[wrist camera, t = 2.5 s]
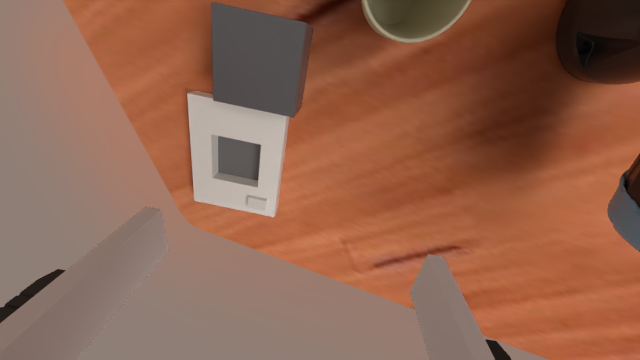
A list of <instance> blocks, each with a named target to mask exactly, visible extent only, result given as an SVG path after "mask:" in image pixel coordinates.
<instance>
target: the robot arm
mask: <svg viewBox="0 0 640 360" xmlns="http://www.w3.org/2000/svg"><path fill="white" fill-rule="evenodd" d="M557 49H558V54H559V57H560V60H561V62H562V64H563V66H564V67H565V68H566V70H567V71H568V72H569V73H570V74H572V75H573V76H575V77H576V78H578V79H581V80H584V81H587V82H593V83H601V84H628V83H634V82H640V0H568V1H567V3H566V6H565V8H564V10H563V13H562V16H561V19H560V22H559V26H558V32H557ZM608 217H609V219H610V221H611V222H612V223H613V226H614V228H615V230H616V231H617V232H618V233H619V234H620V235H621V236H622V238H623V239H625V240H626V241H627V242H628V243H629V244H630V245H631V246H633V247H634V248H635V249H636V250H638V251H639V252H640V154H639V155H638V157H637V158H636V160H635V161H634V163H633V164H632V165H631V167H630V168H629V170H627V171H625V172H624V173H623V175H622V176H621V178H620V181H619V186H618V188H617V190H616V192H615V194H614V195H613V197H612V199H611V200H610V202H609V205H608ZM168 251H169V249H168V243H167V238H166V232H165V227H164V221H163V217H162V211H161V209H156V208H151V207H144V208H143V209H142V210H141V211H140V212H138V213H137V214H136V215H134V216H133V217H132V218H131V219H129V220H128V221H127V222H126V223H125V224H123V225H122V226H121V227H119V228H118V229H117V230H116V231H114V232H113V233H112V234H111V235H109V236H108V237H107V238H106V239H105V240H103V241H102V242H101V243H100V244H98V245H97V246H96V247H95V248H93V249H92V250H91V251H90V252H88V253H87V254H86V255H85V256H83V257H82V258H81V259H80V260H78V261H77V262H76V263H75V264H73V265H72V266H71V267H70V268H68V269H67V270H60V269H57V270H55V271H54V272H52V273H50V274H48V275H46V276H44V277H42V278H40V279H38V280H36V281H35V282H34V283H33V284H31V285H30V286H29V287H27V288H26V289H25V290H23V291H22V292H21V293H20V295H19V296H16V297H14V298H13V299H12V300H10V301H9V302H8V303H6V304H5V306H4V307H1V308H0V360H77V358H78V357H79V356H80V355H81V354H82V353H83V352H84V350H85V349H86V348H87V347H88V345H89V344H90V343H91V342H92V341H93V340H94V339H95V337H96V336H97V335H98V334H99V333H100V331H101V330H102V329H103V328H104V327H105V326H106V325H107V323H108V322H109V321H110V320H111V319H112V317H113V316H114V315H115V314H116V313H117V312H118V310H119V309H120V308H121V307H122V306H123V305H124V303H125V302H126V301H127V300H128V299H129V297H130V296H131V295H132V294H133V293H134V292H135V290H136V289H137V288H138V287H139V286H140V284H141V283H142V282H143V281H144V280H145V278H147V276H148V275H149V274H150V273H151V272H152V270H153V269H154V268H155V267H156V266H157V265H158V263H159V262H160V261H161V260H162V259H163V258H164V256H165V255H166V254H167V253H168ZM410 294H411V297H412V301H413V304H414V308H415V311H416V315H417V318H418V321H419V325H420V328H421V332H422V335H423V339H424V342H425V346H426V349H427V352H428V356H429V359H430V360H511V358H510V357H509V355H508V354H507V353H506V352H505V351H504V350H503V348H502V347H501V346H500V345H499V344H498V343H497V342H496V341H492V340H486V339H484V337H483V335H482V333H481V331H480V329H479V327H478V325H477V323H476V321H475V319H474V317H473V315H472V313H471V311H470V309H469V307H468V305H467V303H466V301H465V299H464V297H463V295H462V293H461V291H460V289H459V287H458V285H457V283H456V281H455V279H454V277H453V275H452V273H451V271H450V269H449V267H448V265H447V263H446V261H445V259H444V257H441V256H436V255H430V254H428V256H427V258H426V260H425V262H424V264H423V266H422V268H421V270H420V272H419V274H418V276H417V278H416V280H415V282H414V284H413V286H412V288H411V290H410Z"/></svg>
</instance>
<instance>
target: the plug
mask: <svg viewBox="0 0 640 360" xmlns="http://www.w3.org/2000/svg"><path fill="white" fill-rule="evenodd" d="M211 14H212V68H213V101H217V102H222V103H226V104H231V105H236V106H241V107H245V108H250V109H255V110H260V111H264V112H269V113H274V114H279V115H283V116H288V117H293V118H294V116H295V115H296V114H297V112H298V111H299V110H300V108H301V106H302V99H303V92H304V86H305V79H306V72H307V66H308V59H309V52H310V46H311V39H312V32H313V27H312V26H310V25H309V24H308V23H306V22H301V21H296V20H292V19H287V18H283V17H278V16H273V15H269V14H264V13H260V12H255V11H250V10H246V9H241V8H237V7H232V6H227V5H223V4H218V3H214V2H211Z"/></svg>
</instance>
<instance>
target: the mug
mask: <svg viewBox="0 0 640 360" xmlns="http://www.w3.org/2000/svg"><path fill="white" fill-rule="evenodd" d="M470 2H471V0H361V3H362V9H363V12H364V15H365V18H366V20H367V22H368V23H369V25H370V26H371V28H372V29H373V30H374V31H375V32H377V33H378V34H379V35H381V36H383V37H385V38H387V39H390V40H394V41H398V42H403V43H417V42H422V41H426V40H429V39H431V38H433V37H435V36H437V35H439V34H441V33H442V32H444V31H445V30H447V29H448V28H449V27H450V26H451V25H453V24H454V23H455V22H456V21H457V20H458V19H459V17H460V16H461V15H462V14H463V13H464V11H465V10H466V8H467V7H468V5H469V4H470Z"/></svg>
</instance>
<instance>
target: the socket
mask: <svg viewBox="0 0 640 360" xmlns="http://www.w3.org/2000/svg"><path fill="white" fill-rule="evenodd" d="M187 99H188V114H189V129H190V144H191V159H192V173H193V188H194V201H198V202H203V203H208V204H213V205H218V206H222V207H227V208H232V209H237V210H242V211H247V212H252V213H257V214H261V215H266V216H271V217H274V216H275V214H276V211H277V209H278V202H279V194H280V186H281V179H282V171H283V163H284V156H285V148H286V140H287V133H288V125H289V117H288V116H283V115H279V114H274V113H269V112H264V111H260V110H255V109H250V108H245V107H241V106H236V105H231V104H226V103H222V102H217V101H213V94H210V93H206V92H201V91H193V92H190V93H187Z"/></svg>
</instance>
